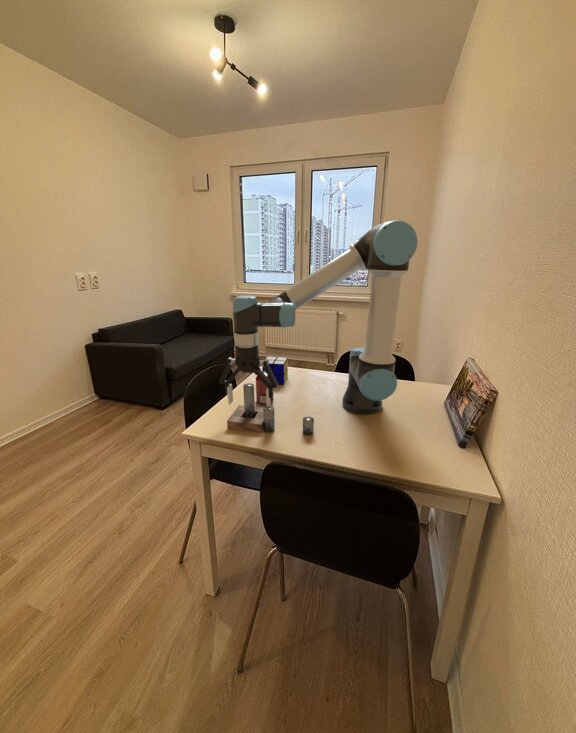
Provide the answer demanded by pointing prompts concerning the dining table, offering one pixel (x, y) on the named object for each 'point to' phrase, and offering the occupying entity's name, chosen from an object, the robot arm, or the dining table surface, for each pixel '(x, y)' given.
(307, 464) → the dining table surface
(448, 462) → the dining table surface
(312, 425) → the short pin
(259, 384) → the soda can
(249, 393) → the long pin
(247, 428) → the hole block
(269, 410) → the medium pin
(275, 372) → the puzzle cube
